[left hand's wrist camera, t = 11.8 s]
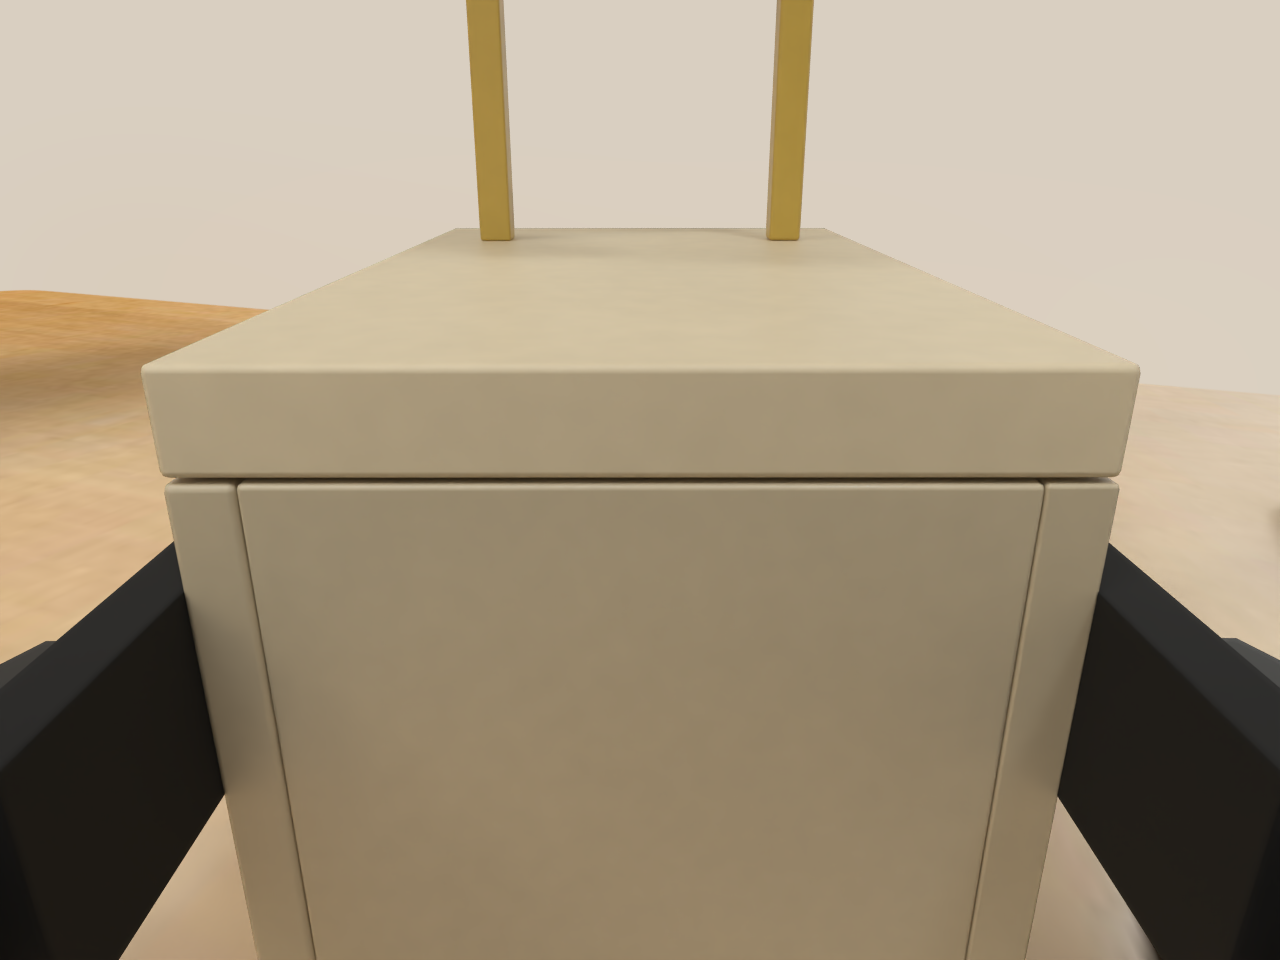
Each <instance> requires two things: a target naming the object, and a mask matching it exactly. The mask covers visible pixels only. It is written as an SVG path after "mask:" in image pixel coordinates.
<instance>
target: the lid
mask: <svg viewBox="0 0 1280 960" xmlns="http://www.w3.org/2000/svg"><path fill="white" fill-rule="evenodd" d="M466 6H467V23H468V39H469V56H470V72H471V89H472V105H473V121H474V138H475V155H476V171H477V188H478V204H479V220H480V228H456V229H454V230H451V231H449V232H447V233H444V234H442V235H440V236H438V237H435V238H433V239H431V240H428V241H426V242H424V243H422V244H419V245H417V246H415V247H412V248H410V249H408V250H406V251H403V252H401V253H399V254H396V255H394V256H392V257H390V258H387V259H385V260H383V261H380V262H378V263H376V264H373V265H371V266H369V267H367V268H364V269H362V270H360V271H357V272H355V273H353V274H351V275H348V276H346V277H344V278H342V279H339V280H337V281H335V282H332V283H330V284H328V285H325V286H323V287H321V288H319V289H316V290H314V291H312V292H309V293H307V294H305V295H303V296H300V297H298V298H296V299H293V300H291V301H289V302H287V303H284V304H282V305H280V306H277V307H275V308H273V309H271V310H268V311H266V312H264V313H261V314H259V315H257V316H254V317H252V318H250V319H248V320H245V321H243V322H241V323H238V324H236V325H234V326H232V327H229V328H227V329H225V330H222V331H220V332H218V333H216V334H213V335H211V336H209V337H206V338H204V339H202V340H200V341H197V342H195V343H193V344H190V345H188V346H186V347H184V348H181V349H179V350H177V351H174V352H172V353H170V354H168V355H165V356H163V357H161V358H158V359H156V360H154V361H152V362H149V363H147V364H145V365H143V366H142V369H141V378H142V383H143V388H144V393H145V398H146V403H147V408H148V413H149V418H150V423H151V428H152V433H153V438H154V443H155V448H156V453H157V458H158V463H159V468H160V471H161V473H162V475H163V476H165V477H170V478H683V477H1115V476H1118V475H1119V473H1120V471H1121V468H1122V463H1123V458H1124V453H1125V448H1126V443H1127V438H1128V433H1129V428H1130V423H1131V418H1132V413H1133V408H1134V403H1135V398H1136V393H1137V388H1138V383H1139V378H1140V367H1139V366H1138V365H1137V364H1135V363H1133V362H1130V361H1128V360H1126V359H1124V358H1121V357H1119V356H1117V355H1114V354H1112V353H1110V352H1107V351H1105V350H1103V349H1101V348H1098V347H1096V346H1094V345H1091V344H1089V343H1087V342H1084V341H1082V340H1080V339H1078V338H1075V337H1073V336H1071V335H1068V334H1066V333H1064V332H1061V331H1059V330H1057V329H1055V328H1052V327H1050V326H1048V325H1045V324H1043V323H1041V322H1038V321H1036V320H1034V319H1032V318H1029V317H1027V316H1025V315H1022V314H1020V313H1018V312H1016V311H1013V310H1011V309H1009V308H1006V307H1004V306H1002V305H999V304H997V303H995V302H993V301H990V300H988V299H986V298H983V297H981V296H979V295H976V294H974V293H972V292H970V291H967V290H965V289H963V288H960V287H958V286H956V285H953V284H951V283H949V282H947V281H944V280H942V279H940V278H937V277H935V276H933V275H930V274H928V273H926V272H923V271H921V270H919V269H917V268H914V267H912V266H910V265H907V264H905V263H903V262H901V261H898V260H896V259H894V258H891V257H889V256H887V255H884V254H882V253H880V252H878V251H875V250H873V249H871V248H868V247H866V246H864V245H861V244H859V243H857V242H854V241H852V240H850V239H848V238H845V237H843V236H841V235H838V234H836V233H834V232H832V231H829V230H827V229H825V228H800V222H801V206H802V189H803V172H804V156H805V139H806V123H807V106H808V89H809V73H810V56H811V39H812V23H813V6H814V0H777V12H776V33H775V54H774V75H773V96H772V117H771V139H770V159H769V180H768V202H767V223H766V228H514V213H513V193H512V171H511V150H510V129H509V108H508V88H507V67H506V46H505V25H504V4H503V0H466Z"/></svg>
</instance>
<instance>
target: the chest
mask: <svg viewBox="0 0 1280 960" xmlns="http://www.w3.org/2000/svg"><path fill="white" fill-rule="evenodd" d="M164 494H165V499H166V504H167V509H168V514H169V519H170V524H171V529H172V534H173V539H174V544H175V549H176V554H177V559H178V564H179V569H180V574H181V579H182V584H183V589H184V594H185V599H186V604H187V609H188V614H189V619H190V624H191V629H192V634H193V639H194V644H195V649H196V654H197V658H198V663H199V668H200V673H201V678H202V683H203V688H204V693H205V698H206V703H207V708H208V713H209V718H210V723H211V728H212V733H213V738H214V743H215V748H216V753H217V758H218V763H219V768H220V773H221V778H222V783H223V788H224V793H225V798H226V803H227V808H228V813H229V818H230V823H231V828H232V833H233V838H234V843H235V848H236V853H237V858H238V863H239V868H240V873H241V878H242V883H243V888H244V893H245V898H246V903H247V908H248V913H249V918H250V923H251V928H252V933H253V938H254V943H255V948H256V953H257V958H258V960H1025V957H1026V952H1027V947H1028V942H1029V937H1030V932H1031V927H1032V922H1033V917H1034V912H1035V907H1036V902H1037V897H1038V892H1039V887H1040V882H1041V877H1042V872H1043V867H1044V862H1045V857H1046V852H1047V847H1048V842H1049V837H1050V832H1051V827H1052V822H1053V817H1054V812H1055V807H1056V802H1057V797H1058V796H1057V794H1058V789H1059V784H1060V779H1061V774H1062V769H1063V764H1064V759H1065V754H1066V749H1067V744H1068V739H1069V734H1070V729H1071V724H1072V719H1073V714H1074V709H1075V704H1076V699H1077V694H1078V689H1079V684H1080V679H1081V674H1082V669H1083V664H1084V659H1085V654H1086V649H1087V644H1088V639H1089V634H1090V629H1091V624H1092V619H1093V614H1094V610H1095V605H1096V600H1097V595H1098V592H1099V588H1100V583H1101V578H1102V573H1103V568H1104V563H1105V558H1106V553H1107V548H1108V543H1109V538H1110V533H1111V528H1112V523H1113V518H1114V514H1115V509H1116V504H1117V499H1118V494H1119V486H1118V484H1116V483H1115V482H1113V481H1112V480H1111V479H1109V478H1108V477H683V478H175V479H174V480H172V481H171V482H170V483H168V484H167V485H166V487H165V492H164Z"/></svg>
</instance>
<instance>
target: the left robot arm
mask: <svg viewBox="0 0 1280 960" xmlns="http://www.w3.org/2000/svg"><path fill="white" fill-rule="evenodd" d="M224 794H225V793H224V788H223V783H222V778H221V773H220V768H219V763H218V758H217V753H216V748H215V743H214V738H213V733H212V728H211V723H210V718H209V713H208V708H207V703H206V698H205V693H204V688H203V683H202V678H201V673H200V668H199V663H198V658H197V654H196V649H195V644H194V639H193V634H192V629H191V624H190V619H189V614H188V609H187V604H186V599H185V594H184V589H183V584H182V579H181V574H180V569H179V564H178V559H177V554H176V549H175V544H174V542H172V543H171V544H170V545H169V546H168V547H167V548H165V549H164V550H163V551H162V552H161V553H159V554H158V555H157V556H156V557H155V558H154V559H152V560H151V561H150V562H149V563H148V564H146V565H145V566H144V567H143V568H142V569H141V570H139V571H138V572H137V573H136V574H135V575H134V576H132V577H131V578H130V579H129V580H128V581H126V582H125V583H124V584H123V585H122V586H121V587H119V588H118V589H117V590H116V591H115V592H114V593H112V594H111V595H110V596H109V597H108V598H106V599H105V600H104V601H103V602H102V603H101V604H99V605H98V606H97V607H96V608H95V609H94V610H92V611H91V612H90V613H89V614H88V615H86V616H85V617H84V618H83V619H82V620H81V621H79V622H78V623H77V624H76V625H75V626H73V627H72V628H71V629H70V630H69V631H68V632H66V633H65V634H64V635H63V636H62V637H61V638H59V639H58V640H57V641H45V642H43V643H41V644H39V645H37V646H36V647H34V648H32V649H30V650H28V651H26V652H24V653H22V654H20V655H18V656H16V657H14V658H12V659H10V660H8V661H6V662H4V663H2V664H0V960H119V959H120V957H121V955H122V954H123V952H124V951H125V949H126V948H127V946H128V944H129V943H130V941H131V940H132V938H133V937H134V935H135V934H136V932H137V930H138V929H139V927H140V926H141V924H142V923H143V921H144V919H145V918H146V916H147V915H148V913H149V912H150V910H151V909H152V907H153V905H154V904H155V902H156V901H157V899H158V898H159V896H160V894H161V893H162V891H163V890H164V888H165V887H166V885H167V884H168V882H169V880H170V879H171V877H172V876H173V874H174V873H175V871H176V869H177V868H178V866H179V865H180V863H181V862H182V860H183V859H184V857H185V855H186V854H187V852H188V851H189V849H190V848H191V846H192V844H193V843H194V841H195V840H196V838H197V837H198V835H199V834H200V832H201V830H202V829H203V827H204V826H205V824H206V823H207V821H208V819H209V818H210V816H211V815H212V813H213V812H214V810H215V809H216V807H217V805H218V804H219V802H220V801H221V799H222V798H223V796H224ZM1057 796H1058V798H1059V799H1060V801H1061V802H1062V804H1063V805H1064V807H1065V808H1066V810H1067V812H1068V813H1069V815H1070V816H1071V818H1072V819H1073V821H1074V823H1075V824H1076V826H1077V827H1078V829H1079V830H1080V832H1081V833H1082V835H1083V837H1084V838H1085V840H1086V841H1087V843H1088V844H1089V846H1090V848H1091V849H1092V851H1093V852H1094V854H1095V855H1096V857H1097V858H1098V860H1099V862H1100V863H1101V865H1102V866H1103V868H1104V869H1105V871H1106V873H1107V874H1108V876H1109V877H1110V879H1111V880H1112V882H1113V883H1114V885H1115V887H1116V888H1117V890H1118V891H1119V893H1120V894H1121V896H1122V898H1123V899H1124V901H1125V902H1126V904H1127V905H1128V907H1129V908H1130V910H1131V912H1132V913H1133V915H1134V916H1135V918H1136V919H1137V921H1138V923H1139V924H1140V926H1141V927H1142V929H1143V930H1144V932H1145V933H1146V935H1147V937H1148V938H1149V940H1150V941H1151V943H1152V944H1153V946H1154V948H1155V949H1156V951H1157V952H1158V954H1159V955H1160V957H1161V958H1162V960H1280V660H1278V659H1276V658H1274V657H1272V656H1270V655H1268V654H1266V653H1264V652H1262V651H1260V650H1258V649H1257V648H1255V647H1253V646H1251V645H1249V644H1247V643H1245V642H1243V641H1241V640H1239V639H1237V638H1221V637H1219V636H1218V635H1217V634H1216V633H1215V632H1214V631H1212V630H1211V629H1210V628H1209V627H1208V626H1206V625H1205V624H1204V623H1203V622H1202V621H1201V620H1199V619H1198V618H1197V617H1196V616H1195V615H1194V614H1192V613H1191V612H1190V611H1189V610H1188V609H1186V608H1185V607H1184V606H1183V605H1182V604H1181V603H1179V602H1178V601H1177V600H1176V599H1175V598H1173V597H1172V596H1171V595H1170V594H1169V593H1168V592H1166V591H1165V590H1164V589H1163V588H1162V587H1161V586H1159V585H1158V584H1157V583H1156V582H1155V581H1153V580H1152V579H1151V578H1150V577H1149V576H1148V575H1146V574H1145V573H1144V572H1143V571H1142V570H1140V569H1139V568H1138V567H1137V566H1136V565H1135V564H1133V563H1132V562H1131V561H1130V560H1129V559H1128V558H1126V557H1125V556H1124V555H1123V554H1122V553H1120V552H1119V551H1118V550H1117V549H1116V548H1115V547H1113V546H1112V545H1111V544H1110V543H1108V548H1107V553H1106V558H1105V563H1104V568H1103V573H1102V578H1101V583H1100V588H1099V592H1098V595H1097V600H1096V605H1095V610H1094V614H1093V619H1092V624H1091V629H1090V634H1089V639H1088V644H1087V649H1086V654H1085V659H1084V664H1083V669H1082V674H1081V679H1080V684H1079V689H1078V694H1077V699H1076V704H1075V709H1074V714H1073V719H1072V724H1071V729H1070V734H1069V739H1068V744H1067V749H1066V754H1065V759H1064V764H1063V769H1062V774H1061V779H1060V784H1059V789H1058V794H1057Z"/></svg>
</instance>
